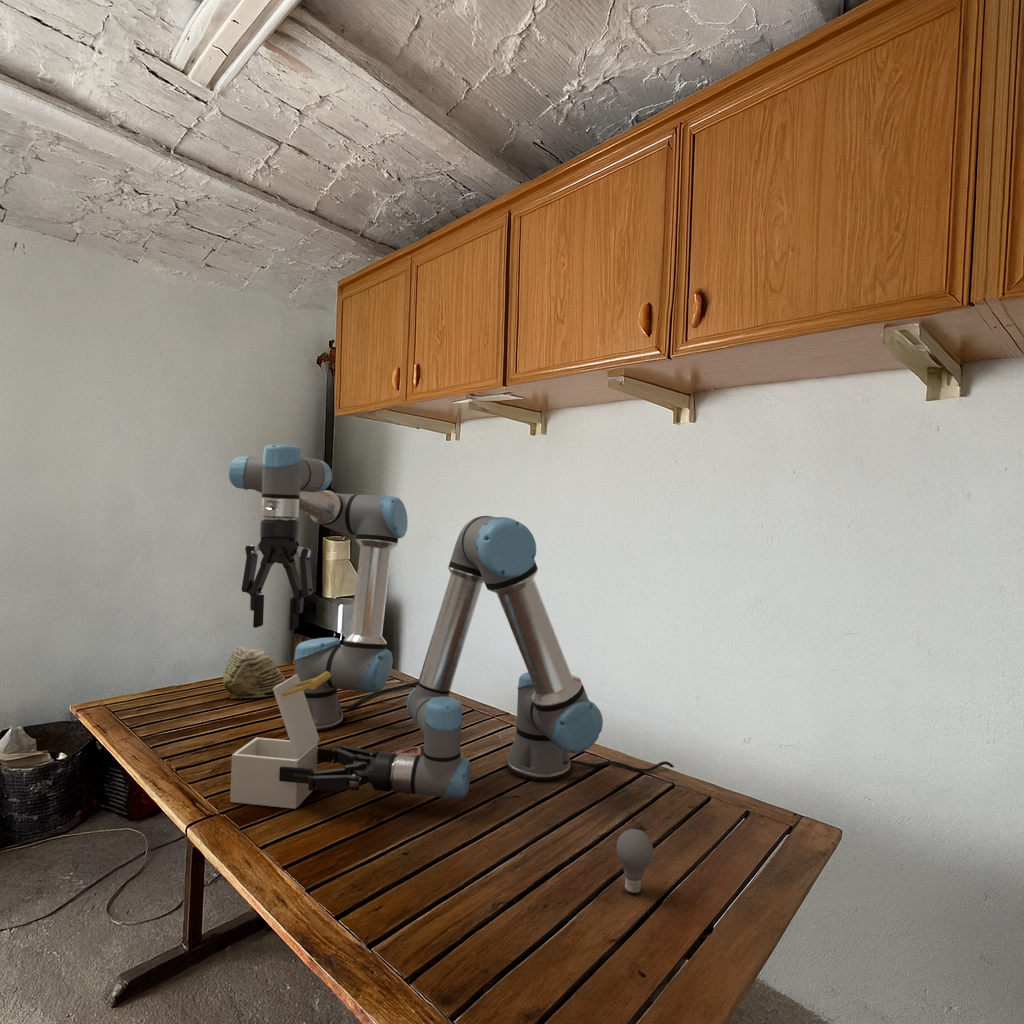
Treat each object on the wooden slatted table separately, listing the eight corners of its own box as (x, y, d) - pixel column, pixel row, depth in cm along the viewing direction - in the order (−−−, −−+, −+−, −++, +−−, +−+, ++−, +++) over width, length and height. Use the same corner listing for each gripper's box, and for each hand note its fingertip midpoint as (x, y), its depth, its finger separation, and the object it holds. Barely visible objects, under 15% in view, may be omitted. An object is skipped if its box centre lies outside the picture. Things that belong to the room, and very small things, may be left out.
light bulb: (610, 879, 108) (613, 822, 108) (644, 879, 109) (647, 822, 109) (619, 902, 102) (622, 840, 102) (655, 901, 103) (658, 840, 103)
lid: (272, 688, 128) (310, 675, 127) (294, 675, 138) (330, 663, 137) (295, 759, 128) (334, 747, 127) (316, 741, 138) (352, 729, 137)
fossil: (218, 695, 195) (220, 647, 195) (278, 685, 208) (279, 640, 207) (228, 703, 189) (230, 653, 188) (289, 692, 201) (290, 645, 201)
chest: (229, 802, 130) (231, 754, 130) (254, 781, 140) (256, 737, 139) (295, 809, 128) (297, 761, 128) (316, 787, 138) (318, 742, 138)
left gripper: (224, 517, 130) (220, 627, 131) (318, 521, 128) (314, 634, 128) (244, 516, 138) (240, 621, 138) (333, 520, 135) (328, 627, 136)
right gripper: (376, 817, 120) (264, 805, 122) (409, 767, 142) (313, 759, 145) (378, 777, 120) (266, 767, 122) (410, 734, 142) (315, 726, 144)
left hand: (275, 627), depth 133 cm, fingers open, 7 cm apart
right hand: (292, 762), depth 133 cm, fingers closed on chest, 10 cm apart
